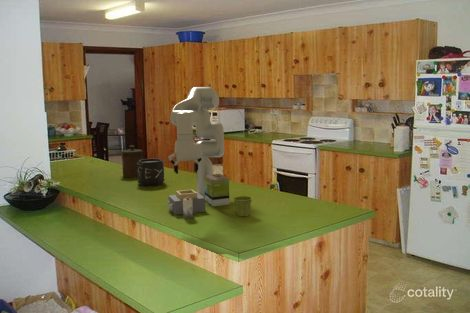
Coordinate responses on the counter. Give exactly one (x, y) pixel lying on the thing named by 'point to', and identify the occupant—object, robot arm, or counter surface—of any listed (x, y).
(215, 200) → the tea box
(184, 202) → the spout can
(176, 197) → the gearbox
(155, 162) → the black lettered box
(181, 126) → the robot arm
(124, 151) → the wooden container
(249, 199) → the plant pot
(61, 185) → the counter surface
